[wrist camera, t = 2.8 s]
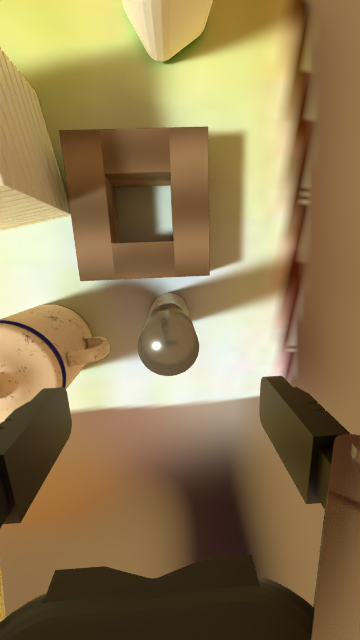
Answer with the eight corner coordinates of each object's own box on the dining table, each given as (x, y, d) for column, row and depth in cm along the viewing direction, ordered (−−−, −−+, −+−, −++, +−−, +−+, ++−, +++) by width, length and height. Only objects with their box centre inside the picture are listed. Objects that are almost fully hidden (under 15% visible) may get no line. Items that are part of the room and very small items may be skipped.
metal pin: (150, 293, 27) (135, 319, 15) (186, 292, 27) (198, 316, 16) (152, 328, 28) (140, 377, 16) (187, 326, 28) (199, 374, 17)
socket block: (77, 151, 23) (59, 130, 20) (201, 148, 24) (207, 126, 20) (93, 277, 26) (80, 281, 23) (203, 273, 27) (209, 275, 23)
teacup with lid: (27, 381, 29) (-63, 459, 18) (4, 307, 27) (-117, 342, 16) (127, 367, 29) (100, 436, 18) (112, 292, 27) (70, 317, 16)
